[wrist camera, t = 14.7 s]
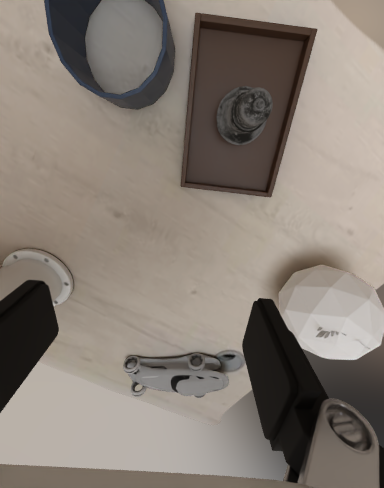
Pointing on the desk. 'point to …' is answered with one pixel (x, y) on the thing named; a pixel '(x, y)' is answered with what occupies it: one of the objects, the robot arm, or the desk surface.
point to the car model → (176, 374)
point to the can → (74, 52)
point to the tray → (230, 77)
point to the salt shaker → (243, 114)
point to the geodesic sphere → (332, 312)
